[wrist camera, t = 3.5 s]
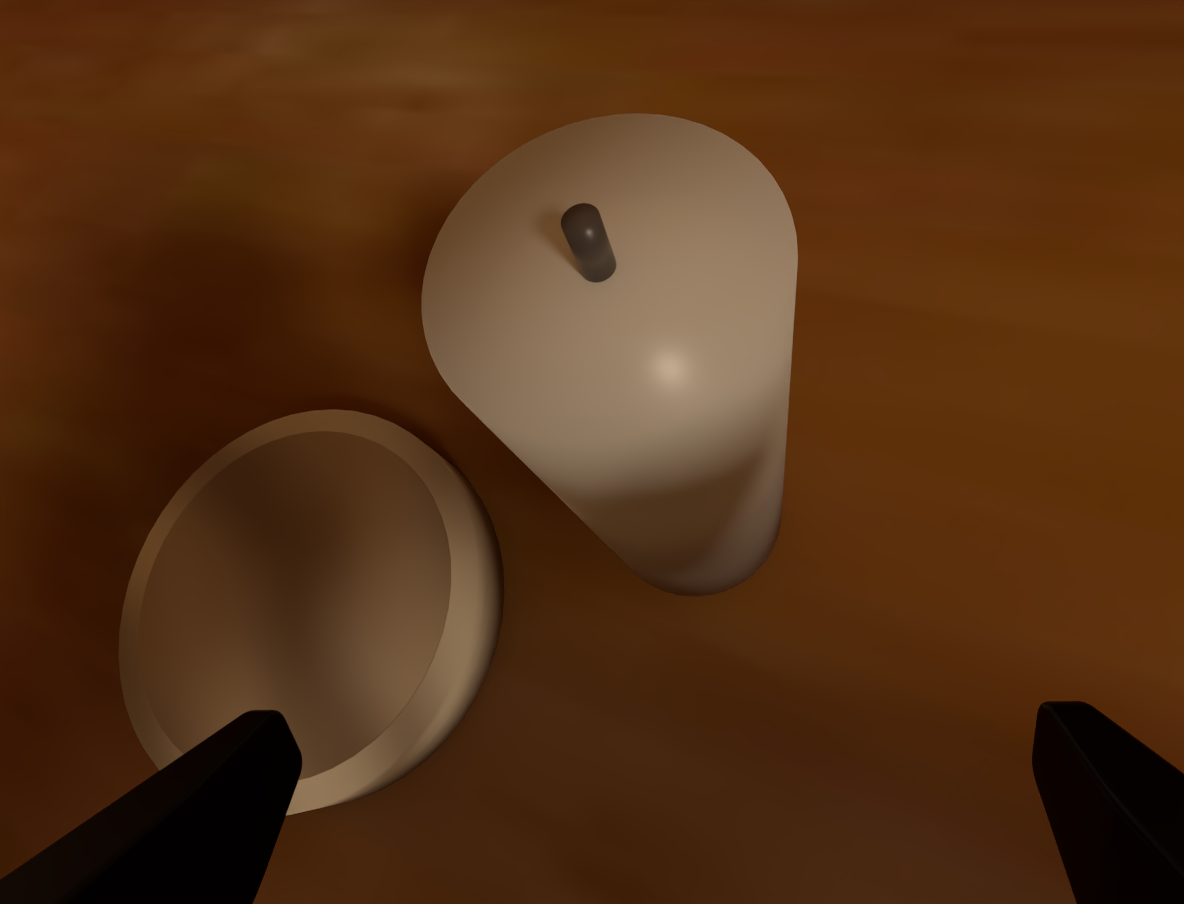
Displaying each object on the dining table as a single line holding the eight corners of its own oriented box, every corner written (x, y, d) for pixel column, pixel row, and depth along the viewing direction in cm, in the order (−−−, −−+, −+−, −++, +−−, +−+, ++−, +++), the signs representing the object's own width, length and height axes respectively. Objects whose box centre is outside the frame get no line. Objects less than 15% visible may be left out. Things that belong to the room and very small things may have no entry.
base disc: (301, 902, 20) (247, 925, 18) (116, 617, 25) (56, 609, 23) (581, 587, 21) (561, 574, 19) (354, 371, 26) (318, 342, 24)
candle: (702, 634, 20) (588, 509, 7) (576, 520, 22) (312, 267, 9) (818, 499, 21) (899, 163, 8) (684, 399, 23) (574, 4, 10)
